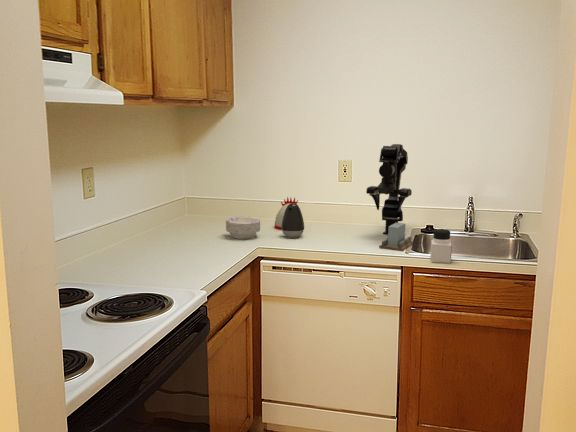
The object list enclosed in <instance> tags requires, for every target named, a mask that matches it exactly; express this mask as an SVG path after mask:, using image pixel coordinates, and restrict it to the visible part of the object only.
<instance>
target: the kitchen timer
mask: <svg viewBox="0 0 576 432" xmlns="http://www.w3.org/2000/svg"><path fill="white" fill-rule="evenodd" d="M298 202H299V200H298V199H297V201H296V197H294V198H293V199H292V197H290V198H289V197H288V196H287V197H286V199H283V202H282V201H280V203H281V207H280V208H279V210H278V212H277V214H276V217H275V220H274V229H275V230H277V229H278V231H282V229H281V226H282V219H283V216H284V212H285V210H286V208H287V206H288V205H289V204H291V203H295V204H297V205H298Z"/></svg>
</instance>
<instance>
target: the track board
mask: <svg viewBox="0 0 576 432" xmlns="http://www.w3.org/2000/svg"><path fill="white" fill-rule="evenodd" d="M412 245H414V241H412V237H411V236H408V237H405V239H404V240H403V241H401V242H400V243H398V247H395V246H388V237H387V238H385V239H382V241H381V244H380V245H378V248H379V249H382V250H392V251H398V252H404V251H406V250H407V249H408V248H409V247H411V246H412Z"/></svg>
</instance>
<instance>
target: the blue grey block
mask: <svg viewBox="0 0 576 432" xmlns="http://www.w3.org/2000/svg"><path fill="white" fill-rule="evenodd" d="M387 238H388V246H395V247H398V243H400V242H401V241H403V240H404V239H406V223H405V222H398V223H394V224H393V225H391V226H389V228H388V234H387Z"/></svg>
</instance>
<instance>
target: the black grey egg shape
mask: <svg viewBox="0 0 576 432" xmlns="http://www.w3.org/2000/svg"><path fill="white" fill-rule="evenodd" d="M281 229H282V230H281V231H282V233H283V235H284V236H285V237H286V238H288V237H289V238H290V239H296V238H297V239H298V238H299V237H301V236H302V235H303V233H304V231H305V221H304V218H303V214H302V210H301V208H300V206H299V205H298V203H297V204H295V203H291V204H289V205H288V206H287V208H286V210H285V212H284V216H283V219H282V226H281ZM289 238H288V239H289Z"/></svg>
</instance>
